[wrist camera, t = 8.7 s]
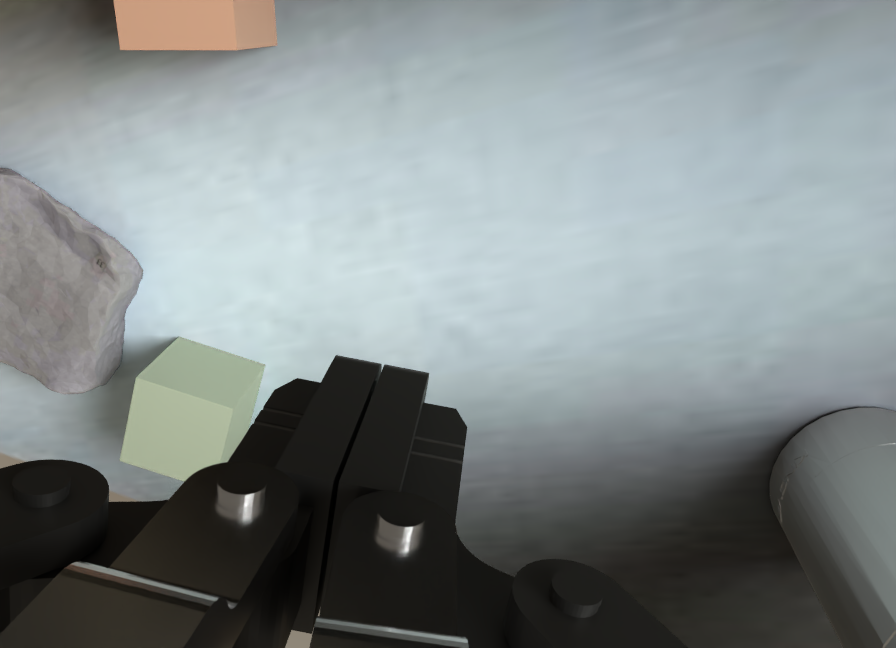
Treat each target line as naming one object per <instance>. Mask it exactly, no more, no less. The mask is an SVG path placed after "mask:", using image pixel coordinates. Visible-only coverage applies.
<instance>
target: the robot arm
mask: <svg viewBox="0 0 896 648" xmlns="http://www.w3.org/2000/svg"><path fill="white" fill-rule="evenodd" d="M381 367H382V366H381V364H379V363H374V362H369V361H364V360H358V359H353V358H348V357H343V356H338V355H336V356H335V358H334V360H333V361H332V363H331V365H330V367H329V369H328V371H327V372H326V374H325V376H324V378H323V380H322V382H321V383H319V382H314V381H309V380H304V379H298V378H297V379H295V380H293V381H291V382H289V383H287V384H285V385H283V386H281V387H279V388H277V389H276V390H274V392H273V393H272V395H271V396H270V398H269V399H268V401H267V402H266V404H265V405H264V408H263V410H261V411H260V413H259V415H258V416H257V418H256V419H255V422H254V424H252V425H251V427H250V428H249V430H248V431H247V433H246V434H245V436H244V437H243V439H242V440H241V442H240V444H239V445H238V447H237V448H236V450H235V451H234V453H233V454H232V456H231V457H230V459H229V460H228V462H224V463H219V464H214V465H211V466H208V467H205V468H203V469H201V470H198V471H197V472H195V473H194V474H192V475H191V476H190V477H189V478H188V479H187V480H186V481H185V482H184V483H183V484H182V485H181V486H180V487H179V489H178V490H177V491H176V492H175V493H174V494H173V495H172V497H171V498H170V499H169V500H163V501H149V502H109V485H108V482H107V480H106V479H105V477H104V476H103V475H102V474H101V473H100V472H98V471H97V470H95V469H94V468H92V467H90V466H87V465H84V464H82V463H77V462H73V461H66V460H37V461H29V462H24V463H20V464H16V465H12V466H8V467H5V468H1V469H0V648H285V646H286V643H287V640H288V637H289V635H290V632H291V630H295V631H300V632H306V633H310V634H311V633H312V631H313V634H312V639H311V643H310V648H688V647H687V646H686V645H684V644H683V643H682V642H681V641H680V640H679V639H678V638H677V637H676V636H675V635H673V634H672V633H671V632H670V631H669V630H668V629H667V628H666V627H665V626H664V625H662V624H661V623H660V622H659V621H658V620H657V619H656V618H655V617H654V616H653V615H651V614H650V613H649V612H648V611H647V610H646V609H645V608H644V607H643V606H642V605H640V604H639V603H638V602H637V601H636V600H635V599H634V598H633V597H632V596H631V595H629V594H628V593H627V592H626V591H625V590H624V589H623V588H622V587H621V586H619V585H618V584H617V583H616V582H615V581H613V580H612V579H611V578H610V577H608V576H606V575H605V574H603V573H602V572H600V571H598V570H596V569H594V568H592V567H589V566H586V565H584V564H581V563H577V562H574V561H568V560H562V559H546V560H540V561H535V562H533V563H530V564H528V565H526V566H525V567H523V568H522V569H521V570H520V571H519V572H518V573H517V574H516V576H515V577H512V576H510V575H508V574H506V573H503V572H501V571H499V570H497V569H495V568H493V567H490V566H488V565H487V564H485V563H484V562H482V561H480V560H479V559H478V558H476V557H475V556H474V555H473V554H471V553H470V552H469V551H468V549H467V548H466V547H465V546H464V545H463V543H462V542H461V541H460V539H459V537H458V535H457V530H456V525H455V519H456V511H457V503H458V496H459V488H460V480H461V472H462V463H463V456H464V447H465V440H466V432H467V426H466V425H465V423H464V421H463V420H462V418H461V416H460V415H459V413H458V411H457V410H456V409H454V408H448V407H443V406H438V405H433V404H428V403H424V401H425V396H426V390H427V385H428V379H429V373H426V372H421V371H416V370H411V369H406V368H400V367H395V366H390V365H384V367H383V369H382V372H381ZM769 483H770V500H771V504H772V507H773V511H774V513H775V515H776V517H777V519H778V521H779V523H780V525H781V527H782V529H783V531H784V533H785V535H786V537H787V539H788V541H789V542H790V544H791V546H792V548H793V550H794V552H795V555H796V557H797V559H798V561H799V563H800V565H801V567H802V569H803V570H804V572H805V574H806V576H807V578H808V580H809V582H810V584H811V586H812V588H813V590H814V592H815V594H816V596H817V598H818V600H819V602H820V604H821V606H822V608H823V609H824V611H825V613H826V615H827V617H828V619H829V621H830V623H831V625H832V627H833V629H834V631H835V633H836V635H837V637H838V639H839V641H840V643H841V645H842V646H843V648H896V411H892V410H887V409H882V408H854V409H848V410H843V411H839V412H836V413H833V414H830V415H827V416H824V417H822V418H820V419H818V420H817V421H815V422H813V423H811V424H810V425H808V426H806V427H805V428H803V429H802V430H801V431H800V432H799V433H798V434H796V435H795V436H794V437H793V438H792V439H791V440H790V441H789V442H788V444H787V445H786V446H785V447H784V448H783V450H782V451H781V452H780V454H779V456H778V458H777V460H776V462H775V464H774V466H773V470H772V474H771V478H770V482H769ZM320 607H321V609H320ZM319 610H320V616H318V613H319ZM314 625H315V626H314ZM313 628H314V630H313Z"/></svg>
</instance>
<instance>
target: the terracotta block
mask: <svg viewBox="0 0 896 648" xmlns="http://www.w3.org/2000/svg"><path fill="white" fill-rule="evenodd" d="M114 7H115V15H116V22H117V29H118V37H119V44H120V50H243V49H251V48H260V47H268V46H277V34H276V20H275V6H274V0H114Z"/></svg>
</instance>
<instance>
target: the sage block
mask: <svg viewBox="0 0 896 648" xmlns="http://www.w3.org/2000/svg"><path fill="white" fill-rule="evenodd" d="M264 368H265V365H264V364H261V363H258V362H255V361H252V360H249V359H246V358H243V357H240V356H237V355H234V354H231V353H228V352H225V351H222V350H219V349H216V348H213V347H210V346H206V345H203V344H200V343H197V342H194V341H191V340H188V339H185V338H182V337H178V338H177V339H176V340H175V341H174V342H173V343H172V344H171V345H170V346H168V347H167V348H166V349H165V350H164V351H163V352H162V353H161V354H160V355H159V356H158V357H157V358H156V359H155V360H154V361H153V362H152V363H151V364H149V365H148V366H147V367H146V368H145V369H144V370H143V371H142V372H141V373H140V374H139V375H138V376H137V377H136V380H135V385H134V390H133V395H132V400H131V405H130V410H129V415H128V420H127V426H126V431H125V436H124V441H123V446H122V451H121V456H120V461H122V462H125V463H128V464H131V465H134V466H137V467H141V468H144V469H147V470H150V471H153V472H156V473H159V474H162V475H166V476H169V477H172V478H175V479H178V480H181V481H184V482H185V481H186V480H187V479H188V478H189V477H190V476H191V475H192V474H194V473H195V472H197V471H198V470H201V469H203V468H205V467H208V466H211V465H214V464H219V463H224V462H228V460H229V459H230V457H231V456H232V454H233V453H234V451H235V450H236V448H237V447H238V445H239V444H240V442H241V440H242V439H243V437H244V436H245V434H246V433H247V431H248V429H249V425H250V422H251V418H252V414H253V410H254V406H255V403H256V399H257V395H258V391H259V387H260V383H261V380H262V376H263V372H264Z"/></svg>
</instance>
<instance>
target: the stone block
mask: <svg viewBox="0 0 896 648" xmlns="http://www.w3.org/2000/svg"><path fill="white" fill-rule="evenodd" d="M142 276H143V269H142V268H141V266H140V264H139V262H138V261H137V259H136V258H135V257H134V256H133V254H132V253H131V252H130V251H128V250H127V249H126V248H124V246H123V245H122V244H120V243H119V242H118V241H117V240H116V239H115V238H114V237H111V236H109V235H108V234H106V233H105V232H103V231H102V230H101V229H99V228H98V227H97V226H95V225H93V224H91V223H89V222H88V221H86V220H85V219H83V218H81V217H80V216H79V215H78V213H77V212H75V211H73V210H72V209H71V208H69V207H66V206H65V205H63V204H61V203H60V202H58V201H56V200H55V199H54V198H52V197H51V196H50V195H49V194H48V193H47V192H46V191H44V190H43V189H41V188H39V187H38V186H36V185H35V184H34V183H33V182H30V181H29V180H27V179H26V178H24V177H22V176H21V175H20V174H18V173H16V172H15V171H13V170H11V169H5V168H0V362H2V363H5V364H8V365H11V366H13V367H15V368H16V369H18V370H20V371H21V372H23V373H26V374H29V375H33V376H34V377H35V378H36V379H37V380H39V381H40V382H41V383H42V384H43V385H45V386H46V387H47V388H48V389H50V390H52V391H55V392H59V393H62V394H79V393H84V392H87V391H90V390H92V389H94V388H96V387H98V386H102V385H105V384H106V383H107V382H108V381H109V379H110V378H111V377H112V375H113V374H114V372H115V371H116V369H117V368H118V367H119V366H120V362H121V357H122V352H123V351H122V346H123V343H124V331H125V319H124V317H125V313H126V309H127V307H128V306H129V304H130V303H131V301H132V299H133V298H134V296H135V295H136V293H137V290H138V287H139V283H140V281H141V279H142Z"/></svg>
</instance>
